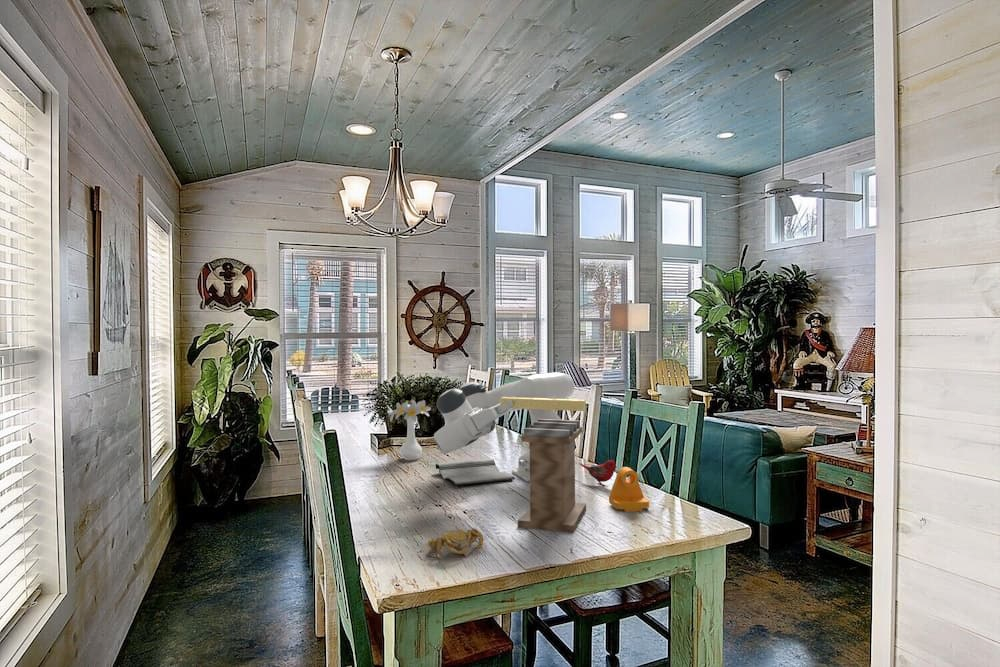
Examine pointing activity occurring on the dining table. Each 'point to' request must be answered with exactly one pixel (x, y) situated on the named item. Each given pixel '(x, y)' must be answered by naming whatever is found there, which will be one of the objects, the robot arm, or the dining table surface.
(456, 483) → the mat
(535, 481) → the stand
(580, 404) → the yellow bar
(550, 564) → the dining table surface
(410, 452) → the flower vase
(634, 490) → the bracket
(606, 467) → the decorative bird figurine
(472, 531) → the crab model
